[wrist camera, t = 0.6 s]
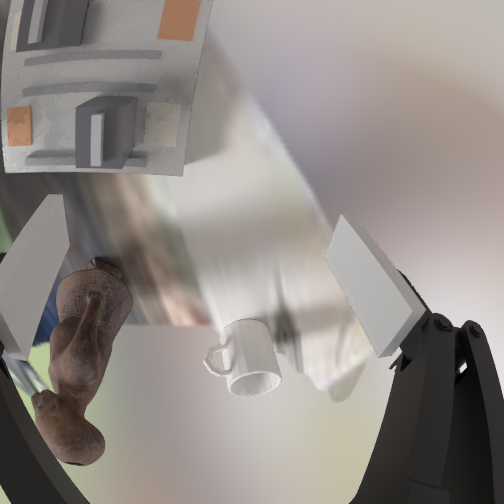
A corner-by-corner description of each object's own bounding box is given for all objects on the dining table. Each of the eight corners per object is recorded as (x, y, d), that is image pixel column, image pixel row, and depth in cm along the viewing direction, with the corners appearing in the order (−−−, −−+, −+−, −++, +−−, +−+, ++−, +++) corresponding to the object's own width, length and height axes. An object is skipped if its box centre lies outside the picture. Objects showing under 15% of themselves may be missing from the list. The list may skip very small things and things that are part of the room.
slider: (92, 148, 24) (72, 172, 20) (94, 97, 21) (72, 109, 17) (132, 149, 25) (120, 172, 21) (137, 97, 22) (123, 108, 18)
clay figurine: (76, 225, 32) (9, 427, 12) (150, 252, 36) (140, 461, 17) (62, 296, 38) (27, 460, 18) (123, 316, 42) (115, 481, 23)
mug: (210, 308, 44) (218, 364, 36) (277, 324, 49) (292, 374, 42) (190, 338, 48) (194, 391, 40) (252, 351, 53) (263, 398, 45)
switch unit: (17, 162, 25) (0, 177, 22) (27, -9, 14) (9, -12, 11) (183, 165, 31) (182, 180, 27) (217, -19, 19) (221, -29, 16)
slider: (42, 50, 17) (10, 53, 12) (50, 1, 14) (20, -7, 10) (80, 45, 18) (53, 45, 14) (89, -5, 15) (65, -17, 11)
